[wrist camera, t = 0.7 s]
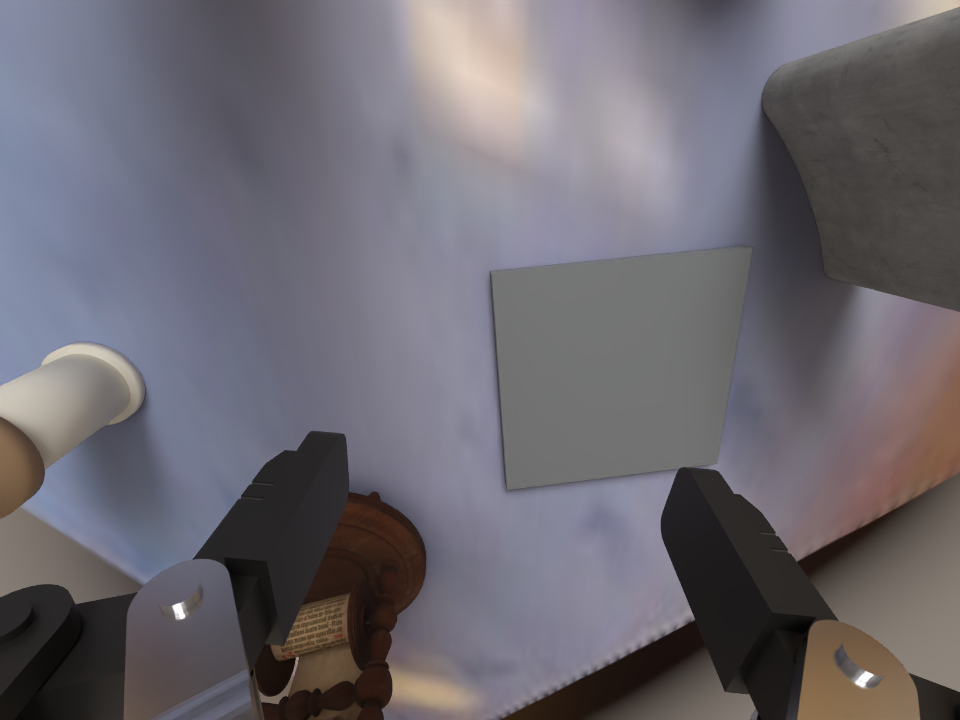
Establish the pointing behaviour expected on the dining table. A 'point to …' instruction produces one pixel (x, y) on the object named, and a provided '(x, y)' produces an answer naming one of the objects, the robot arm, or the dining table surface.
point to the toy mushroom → (60, 412)
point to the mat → (616, 363)
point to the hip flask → (881, 155)
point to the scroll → (347, 619)
